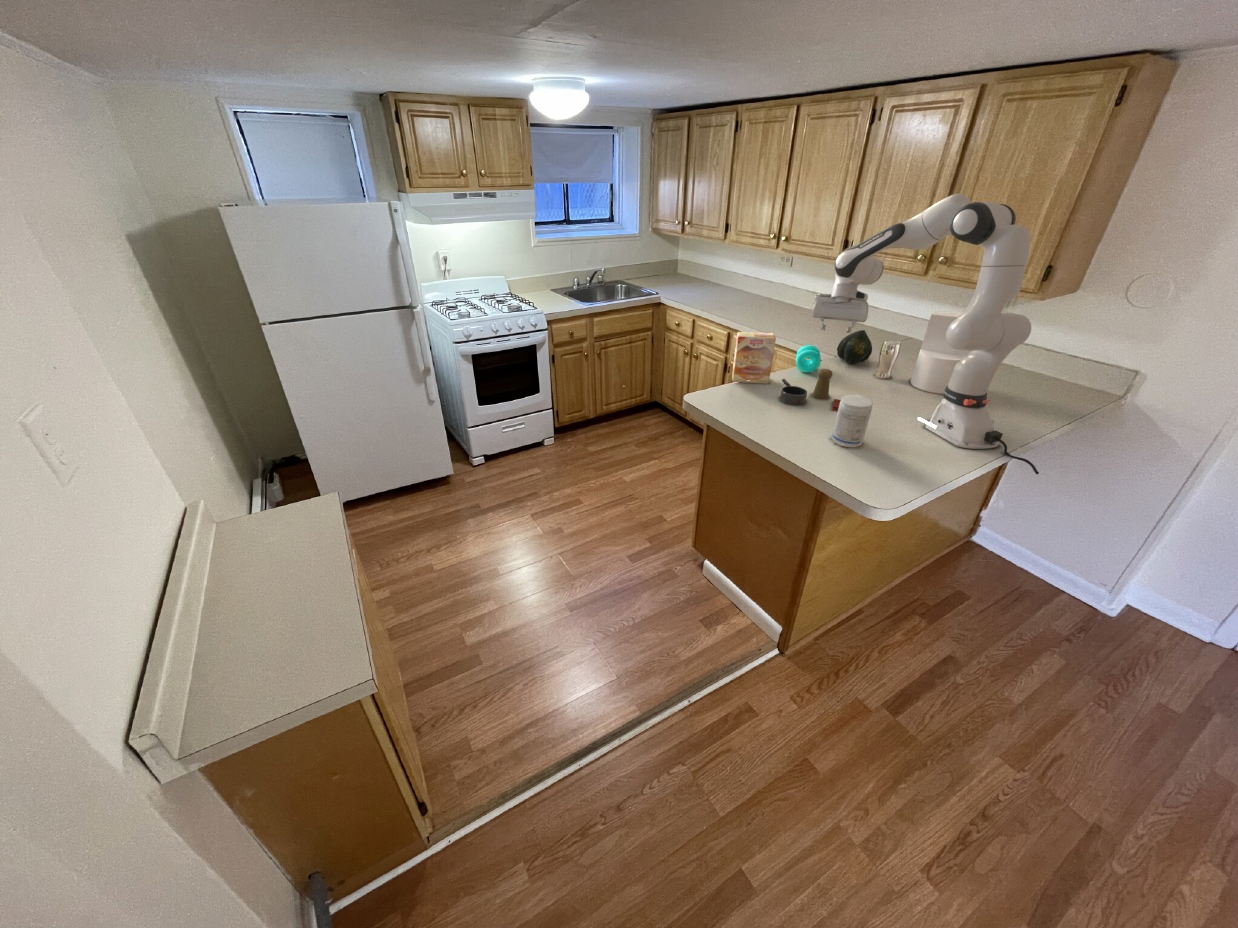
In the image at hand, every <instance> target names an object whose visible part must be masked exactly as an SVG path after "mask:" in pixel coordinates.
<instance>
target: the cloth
mask: <svg viewBox="0 0 1238 928" xmlns="http://www.w3.org/2000/svg"><path fill="white" fill-rule="evenodd" d="M840 401H841V399H838V398H833V403H832V410H831V411H835V412H838V409H839V405H840Z"/></svg>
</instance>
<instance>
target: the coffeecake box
mask: <svg viewBox="0 0 1238 928" xmlns="http://www.w3.org/2000/svg"><path fill="white" fill-rule="evenodd" d="M776 341H777V337H776V335H775V333H774V332H757V331H756V332H755V331H753V332H752V331H737V333H736V341H735V346H734V347H735V348H734V349H735V350H734V356H733V364H732V372H731V378H732V379H731V380H732V382H733V383H743V382H742V381H745V382H744V383H749V384H750V383H752V384H769V383H770V378H771V371H772V366H773V359H774V354H775V347H776ZM747 380H750V381H747Z"/></svg>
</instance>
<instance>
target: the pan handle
mask: <svg viewBox="0 0 1238 928" xmlns="http://www.w3.org/2000/svg"><path fill="white" fill-rule="evenodd" d="M781 382H782V383H783V385H784V386H785V387H786V386H792V385H791V384H790V383H789V382H788V381H787V379H786V378H782V380H781Z"/></svg>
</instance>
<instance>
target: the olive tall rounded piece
mask: <svg viewBox="0 0 1238 928" xmlns="http://www.w3.org/2000/svg"><path fill="white" fill-rule="evenodd" d="M817 377H818V378H817V380H816V384H815V386H814V389H813V392H812V394H811V396H812V397H813V398H814V399H817V400H828V399H829V395H830V394H829V392H830V383H831V378H832V377H833V371H832V370H831V369H830V368H820V369H819V370H818V371H817Z"/></svg>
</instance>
